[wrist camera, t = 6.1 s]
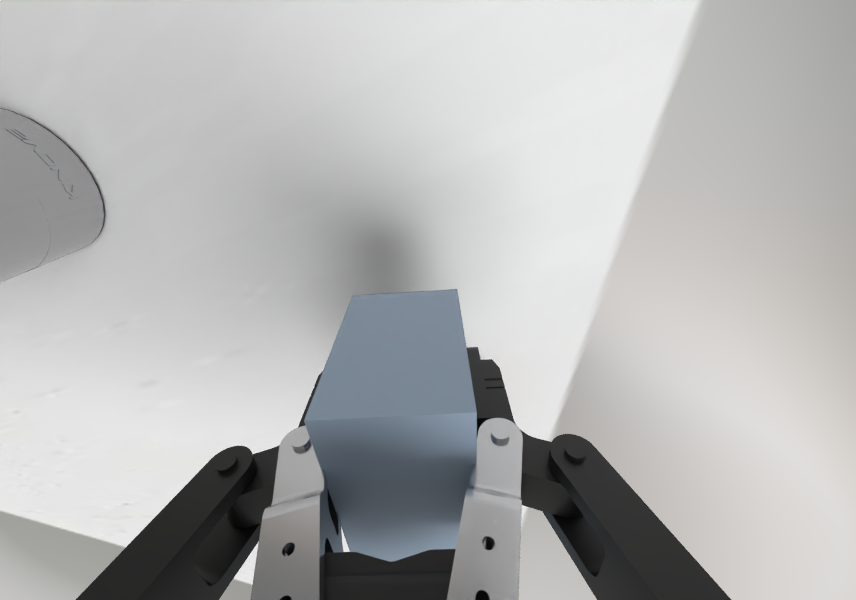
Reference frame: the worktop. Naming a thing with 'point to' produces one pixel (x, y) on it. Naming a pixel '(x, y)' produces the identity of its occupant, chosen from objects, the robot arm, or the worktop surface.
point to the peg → (397, 423)
